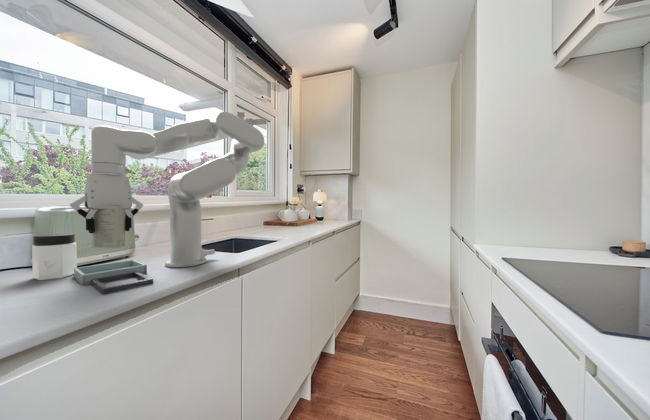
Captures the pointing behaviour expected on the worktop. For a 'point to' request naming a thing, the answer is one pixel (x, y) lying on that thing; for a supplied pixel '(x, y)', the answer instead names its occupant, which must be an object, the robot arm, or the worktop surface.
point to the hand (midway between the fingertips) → (109, 231)
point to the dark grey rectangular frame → (104, 289)
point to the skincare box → (109, 228)
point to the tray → (108, 270)
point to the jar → (54, 255)
